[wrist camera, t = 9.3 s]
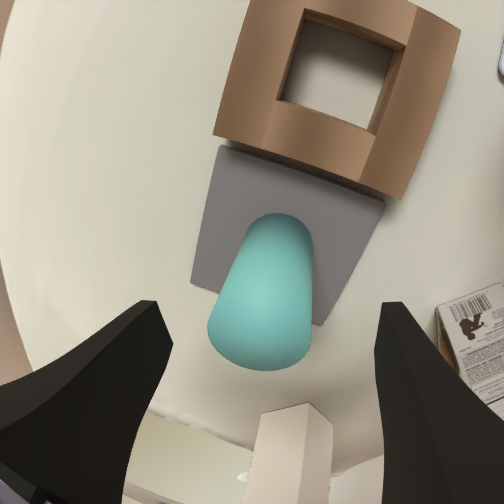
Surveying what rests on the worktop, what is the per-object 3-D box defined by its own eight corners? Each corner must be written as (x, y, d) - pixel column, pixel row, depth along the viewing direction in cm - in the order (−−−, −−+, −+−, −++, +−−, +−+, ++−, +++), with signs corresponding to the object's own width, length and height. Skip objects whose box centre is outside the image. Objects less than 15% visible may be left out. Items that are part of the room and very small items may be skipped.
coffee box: (495, 351, 21) (537, 498, 7) (437, 373, 23) (461, 532, 9) (502, 278, 17) (588, 459, 4) (433, 305, 20) (485, 516, 6)
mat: (383, 200, 17) (385, 203, 16) (321, 320, 22) (321, 325, 22) (221, 144, 17) (218, 146, 16) (192, 278, 22) (190, 282, 22)
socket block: (442, 36, 11) (461, 30, 9) (390, 185, 16) (400, 200, 14) (272, -27, 11) (265, -43, 9) (225, 128, 16) (212, 134, 14)
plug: (313, 213, 17) (313, 299, 11) (311, 274, 19) (307, 373, 13) (242, 212, 18) (199, 293, 11) (247, 272, 20) (215, 366, 13)
